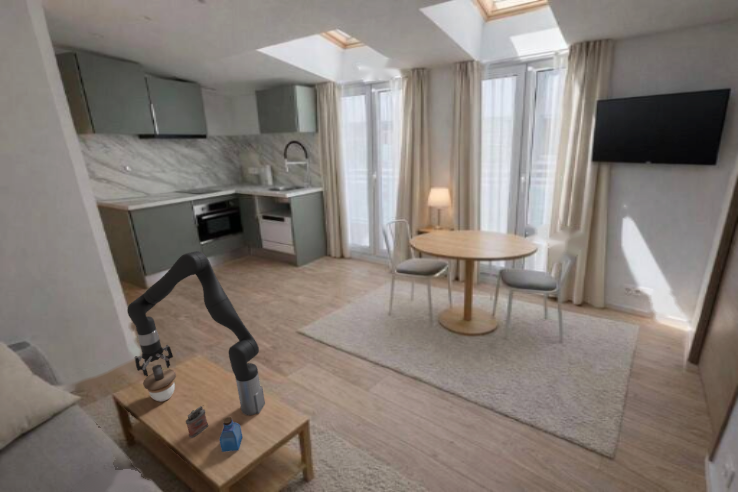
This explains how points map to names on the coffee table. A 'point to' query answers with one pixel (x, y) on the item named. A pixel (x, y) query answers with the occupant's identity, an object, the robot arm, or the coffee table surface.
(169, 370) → the walnut lid
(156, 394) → the lidded jar
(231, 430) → the perfume bottle
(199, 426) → the lighter
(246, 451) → the coffee table surface
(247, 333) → the robot arm
